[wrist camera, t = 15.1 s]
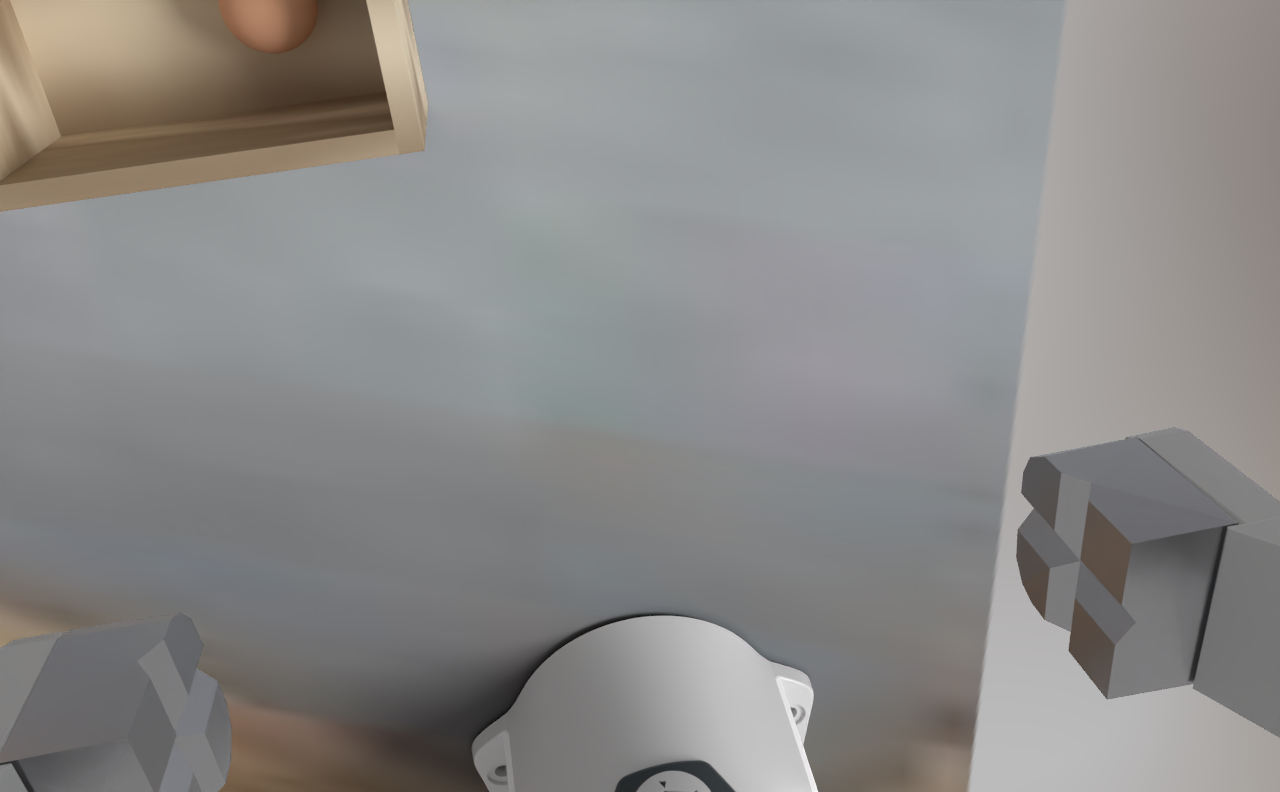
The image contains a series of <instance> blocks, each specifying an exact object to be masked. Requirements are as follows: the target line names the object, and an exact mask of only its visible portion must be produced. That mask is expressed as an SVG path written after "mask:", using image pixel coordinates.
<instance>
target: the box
mask: <svg viewBox="0 0 1280 792" xmlns="http://www.w3.org/2000/svg"><path fill="white" fill-rule="evenodd" d="M317 4H318V14H317V20H316V24H315V26H314V29H313V31H312V33H311V34H310V36H309V37H308V38H307V40H306V41H305V42H303V43H302V44H301V45H300V46H298V47H296V48H295V49H293V50H290V51H287V52H283V53H265V52H261V51H257V50H255V49H252V48H250V47H248V46H247V45H245V44H243V43H242V42H241V41H239V40H238V39H237V38H236V37H235V36H234V35H233V34H232V33H231V31H230V30H229V29H228V27H227V26H226V24H225V22H224V20H223V18H222V15H221V12H220V8H219V1H218V0H0V212H1V211H8V210H15V209H22V208H29V207H36V206H43V205H50V204H57V203H63V202H70V201H77V200H84V199H91V198H98V197H105V196H112V195H119V194H126V193H133V192H140V191H147V190H154V189H161V188H168V187H175V186H182V185H189V184H196V183H203V182H210V181H217V180H224V179H230V178H237V177H244V176H251V175H258V174H265V173H272V172H279V171H286V170H293V169H300V168H307V167H314V166H321V165H328V164H335V163H342V162H349V161H356V160H363V159H370V158H377V157H384V156H391V155H397V154H404V153H411V152H418V151H424V148H425V136H426V124H427V113H428V101H427V96H426V91H425V86H424V81H423V76H422V71H421V66H420V61H419V56H418V51H417V46H416V41H415V36H414V31H413V26H412V21H411V16H410V11H409V6H408V1H407V0H317Z"/></svg>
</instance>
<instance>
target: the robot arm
mask: <svg viewBox="0 0 1280 792" xmlns="http://www.w3.org/2000/svg"><path fill="white" fill-rule="evenodd" d="M1021 493H1022V494H1023V495H1024V497H1025V498H1026V499H1027V500H1028V501H1029V503H1030V504H1031V505H1032V506H1033V507H1034V509H1033V511H1032V512H1031V513H1030V515H1029V516H1028V517H1027V518H1026V520H1025V521H1024V522H1023V523H1022V525H1021V526H1020V528H1019V529H1018V535H1017V536H1018V537H1017V555H1016V556H1017V562H1018V566H1019V570H1020V575H1021V580H1022V583H1023V586H1024V588H1025V590H1026V592H1027V594H1028V596H1029V598H1030V600H1031V602H1032V604H1033V605H1034V606H1035V608H1036V609H1037V610H1038V612H1039V613H1040V614H1041V616H1042V617H1043V618H1044V620H1046V621H1048V622H1051V623H1053V624H1055V625H1057V626H1059V627H1061V628H1064V629H1066V630H1068V631H1070V632H1071V635H1070V643H1069V652H1070V653H1071V654H1072V656H1073V657H1074V658H1075V660H1076V661H1077V662H1078V663H1079V664H1080V666H1081V667H1082V668H1083V670H1084V671H1085V672H1086V673H1087V675H1088V676H1089V677H1090V679H1091V680H1092V681H1093V682H1094V683H1095V685H1096V686H1097V687H1098V689H1099V690H1100V691H1101V693H1102V694H1103V695H1104V696H1105V697H1106V699H1112V698H1117V697H1123V696H1129V695H1134V694H1139V693H1145V692H1151V691H1157V690H1162V689H1168V688H1173V687H1179V686H1184V685H1190V684H1194V686H1193V689H1195V690H1197V691H1199V692H1200V693H1202V694H1204V695H1206V696H1208V697H1209V698H1211V699H1213V700H1214V701H1216V702H1218V703H1220V704H1222V705H1223V706H1225V707H1227V708H1229V709H1230V710H1232V711H1234V712H1236V713H1237V714H1239V715H1241V716H1243V717H1244V718H1246V719H1248V720H1250V721H1252V722H1253V723H1255V724H1257V725H1259V726H1260V727H1262V728H1264V729H1265V730H1267V731H1269V732H1271V733H1273V734H1275V735H1276V736H1278V737H1280V501H1278V500H1277V499H1276V498H1274V497H1273V496H1272V495H1271V494H1269V493H1268V492H1267V491H1266V490H1264V489H1263V488H1262V487H1260V486H1259V485H1258V484H1256V483H1255V482H1254V481H1253V480H1251V479H1250V478H1249V477H1247V476H1246V475H1245V474H1244V473H1242V472H1241V471H1239V470H1238V469H1237V468H1236V467H1234V466H1233V465H1232V464H1231V463H1229V462H1228V461H1227V460H1225V459H1224V458H1223V457H1222V456H1220V455H1219V454H1218V453H1216V452H1215V451H1214V450H1213V449H1211V448H1210V447H1209V446H1207V445H1206V444H1205V443H1203V442H1202V441H1201V440H1200V439H1198V438H1197V437H1195V436H1194V435H1193V434H1192V433H1190V432H1189V431H1186V430H1182V429H1179V428H1175V427H1173V428H1168V429H1163V430H1158V431H1154V432H1149V433H1145V434H1140V435H1136V436H1130V437H1126V438H1125V439H1124V440H1119V441H1114V442H1108V443H1103V444H1098V445H1093V446H1087V447H1082V448H1077V449H1071V450H1066V451H1061V452H1056V453H1051V454H1045V455H1040V456H1035V457H1030V459H1029V461H1028V463H1027V465H1026V467H1025V470H1024V472H1023V481H1022V491H1021ZM203 646H204V645H203V643H202V641H201V639H200V637H199V635H198V632H197V630H196V628H195V626H194V624H193V621H192V619H191V618H190V617H188V616H186V615H184V614H182V613H180V612H179V613H173V614H166V615H160V616H154V617H148V618H142V619H136V620H129V621H123V622H117V623H111V624H105V625H99V626H92V627H86V628H80V629H74V630H70V631H69V632H57V633H52V634H46V635H41V636H35V637H29V638H24V639H18V640H13V641H12V642H10V643H8V644H6V645H5V646H3V647H1V648H0V792H218V791H219V790H220V789H221V788H222V787H223V786H224V784H225V783H226V779H227V775H228V770H229V765H230V761H231V723H230V718H229V713H228V708H227V704H226V700H225V698H224V695H223V692H222V690H221V687H220V685H219V682H218V681H216V680H215V679H213V678H211V677H210V676H208V675H206V674H205V673H203V672H202V671H200V670H198V669H197V666H198V663H199V659H200V656H201V653H202V649H203ZM813 698H814V693H813V689H812V686H811V682H810V679H809V678H808V676H807V675H806V674H804V673H803V672H801V671H799V670H797V669H794V668H791V667H788V666H785V665H781V664H778V663H774V662H770V661H768V660H767V659H765V658H764V657H762V656H761V655H760V654H758V653H757V652H756V651H755V650H754V649H753V648H752V647H751V646H750V645H748V644H747V643H746V642H745V641H744V640H742V639H741V638H740V637H738V636H737V635H735V634H734V633H732V632H730V631H728V630H726V629H724V628H722V627H720V626H718V625H715V624H712V623H709V622H706V621H702V620H699V619H694V618H688V617H680V616H647V617H639V618H632V619H627V620H623V621H619V622H615V623H612V624H608V625H605V626H603V627H600V628H597V629H595V630H592V631H590V632H588V633H586V634H584V635H582V636H580V637H578V638H576V639H574V640H573V641H571V642H569V643H568V644H566V645H565V646H563V647H562V648H560V649H559V650H558V651H556V652H555V653H554V654H553V655H551V656H550V657H549V658H548V659H547V660H546V661H545V662H544V663H543V664H541V666H540V667H539V668H538V669H537V670H536V671H535V672H534V674H533V675H532V676H531V677H530V679H529V680H528V682H527V683H526V684H525V686H524V688H523V690H522V691H521V693H520V695H519V696H518V698H517V700H516V702H515V703H514V704H513V706H512V707H511V709H510V710H509V711H508V712H507V713H506V714H505V715H503V716H502V717H500V718H499V719H498V720H496V721H495V722H494V723H492V724H491V725H490V726H488V727H487V728H486V729H485V730H484V731H482V732H481V733H480V734H479V735H478V736H477V737H476V739H475V740H474V742H473V744H472V754H473V760H474V765H475V767H476V769H477V771H478V773H479V774H480V776H481V778H482V780H483V781H484V783H485V785H486V786H487V788H488V790H489V792H818V790H817V787H816V784H815V781H814V778H813V775H812V772H811V769H810V766H809V763H808V760H807V757H806V753H805V750H804V747H803V743H804V739H805V735H806V730H807V726H808V721H809V717H810V712H811V708H812V703H813ZM502 765H505V766H502Z"/></svg>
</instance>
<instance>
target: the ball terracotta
mask: <svg viewBox="0 0 1280 792" xmlns="http://www.w3.org/2000/svg"><path fill="white" fill-rule="evenodd" d="M218 1H219V8H220V12H221V15H222V18H223V20H224V22H225V24H226V26H227V27H228V29H229V30H230V31H231V33H232V34H233V35H234V36H235V37H236V38H237V39H238V40H239V41H241V42H242V43H243V44H245V45H247V46H248V47H250V48H252V49H255V50H257V51H261V52H265V53H283V52H287V51H290V50H293V49H295V48H296V47H298V46H300V45H301V44H302V43H303V42H305V41H306V40H307V38H308V37H309V36H310V34H311V33H312V31H313V29H314V26H315V24H316V20H317V14H318V4H317V0H218Z"/></svg>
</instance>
